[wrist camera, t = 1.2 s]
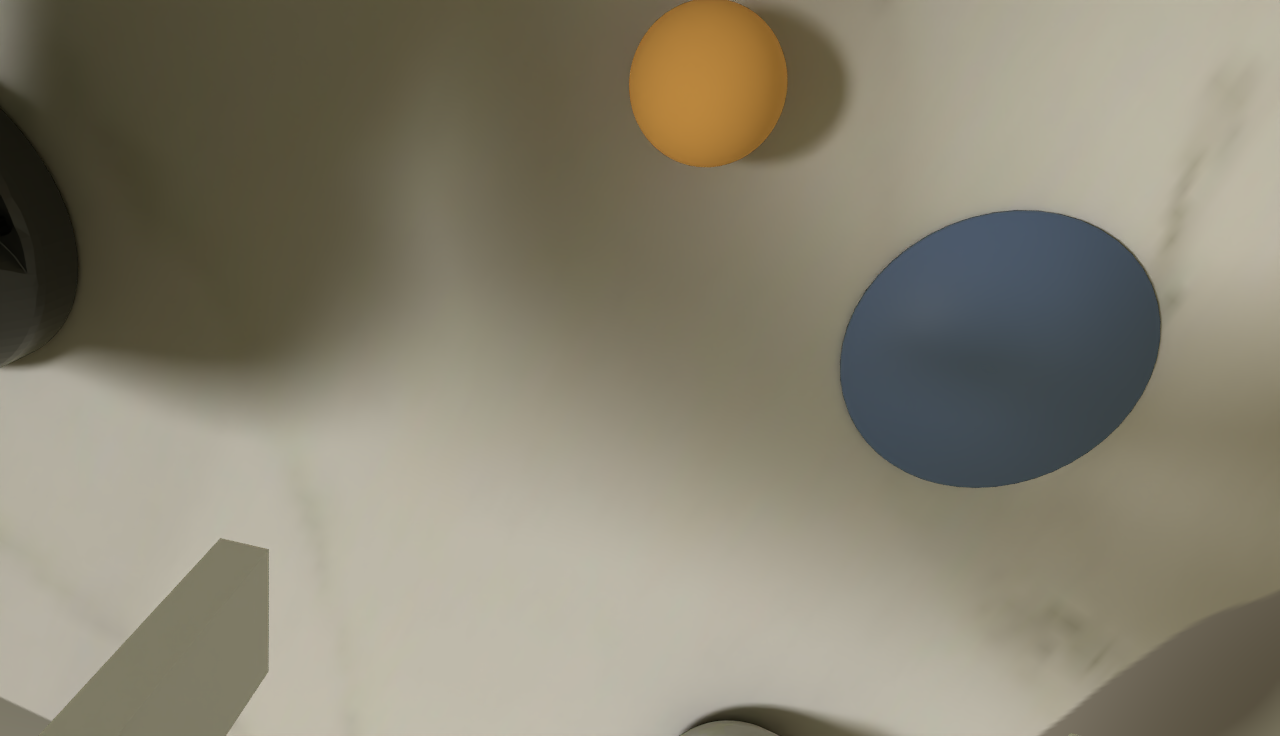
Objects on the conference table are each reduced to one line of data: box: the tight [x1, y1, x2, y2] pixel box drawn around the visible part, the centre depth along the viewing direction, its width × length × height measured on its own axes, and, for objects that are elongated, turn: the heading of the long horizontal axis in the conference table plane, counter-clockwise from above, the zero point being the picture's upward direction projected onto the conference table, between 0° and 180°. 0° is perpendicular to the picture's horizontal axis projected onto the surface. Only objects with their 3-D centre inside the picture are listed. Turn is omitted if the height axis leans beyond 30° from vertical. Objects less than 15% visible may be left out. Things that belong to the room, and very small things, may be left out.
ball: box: [629, 0, 788, 167], centre depth 26 cm, size 6×6×6 cm
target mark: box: [840, 210, 1160, 488], centre depth 32 cm, size 13×13×1 cm
